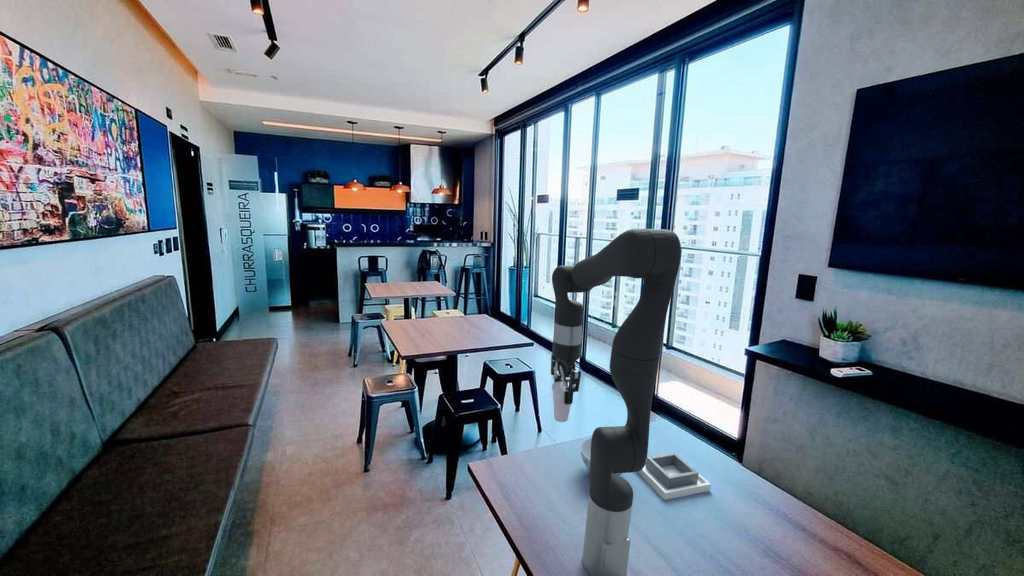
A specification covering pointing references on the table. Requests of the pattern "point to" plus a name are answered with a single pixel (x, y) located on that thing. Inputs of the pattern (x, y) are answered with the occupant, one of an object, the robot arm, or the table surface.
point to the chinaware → (588, 453)
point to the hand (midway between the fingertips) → (562, 397)
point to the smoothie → (560, 402)
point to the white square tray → (673, 476)
